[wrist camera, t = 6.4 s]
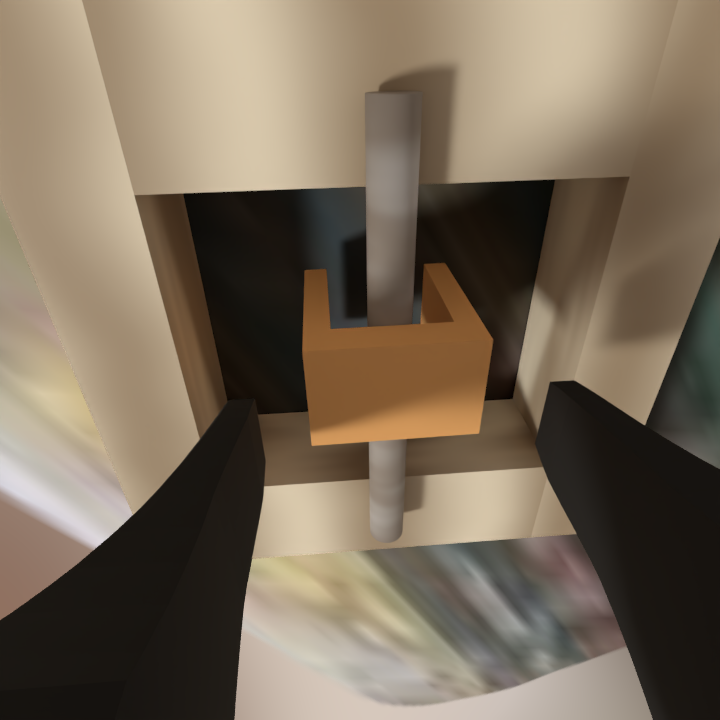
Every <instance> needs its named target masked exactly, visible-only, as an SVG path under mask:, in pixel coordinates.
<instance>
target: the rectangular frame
mask: <svg viewBox="0 0 720 720" xmlns="http://www.w3.org/2000/svg"><path fill="white" fill-rule="evenodd" d="M552 179H555V183H554V188H553V193H552V198H551V203H550V208H549V214H548V219H547V224H546V229H545V234H544V239H543V244H542V250H541V255H540V260H539V265H538V270H537V275H536V281H535V286H534V291H533V296H532V301H531V306H530V311H529V317H528V322H527V327H526V332H525V337H524V342H523V348H522V353H521V358H520V363H519V368H518V373H517V379H516V384H515V389H514V394H513V399H505V400H489V401H484V404H483V411H482V417H481V424H480V431H479V434H466V435H453V436H439V437H426V438H412V439H399V440H385V441H371V442H358V443H344V444H331V445H317V446H312V443H311V433H310V423H309V413H308V412H294V413H278V414H262V415H258V419H259V425H260V430H261V436H262V442H263V448H264V453H265V459H266V466H265V482H264V496H263V503H262V509H261V514H260V519H259V525H258V530H257V535H256V541H255V546H254V551H253V556H252V559H256V558H269V557H282V556H295V555H308V554H321V553H334V552H347V551H360V550H373V549H386V548H399V547H412V546H425V545H438V544H451V543H464V542H477V541H490V540H503V539H516V538H529V537H542V536H555V535H568V534H576V532H575V530H574V528H573V526H572V524H571V523H570V521H569V519H568V517H567V515H566V513H565V511H564V510H563V508H562V506H561V504H560V502H559V500H558V498H557V496H556V494H555V492H554V491H553V489H552V487H551V485H550V483H549V481H548V478H547V476H546V473H545V471H544V468H543V466H542V463H541V460H540V457H539V454H538V451H537V448H536V446H535V441H536V437H537V433H538V429H539V425H540V421H541V416H542V412H543V408H544V404H545V400H546V396H547V392H548V388H549V383H550V382H554V381H571V380H574V381H576V382H578V383H580V384H582V385H583V386H585V387H586V388H588V389H590V390H591V391H593V392H594V393H596V394H597V395H599V396H601V397H602V398H604V399H605V400H607V401H608V402H610V403H611V404H613V405H614V406H616V407H617V408H619V409H620V410H622V411H623V412H625V413H626V414H628V415H629V416H631V417H632V418H634V419H636V420H637V421H639V422H640V423H642V424H643V425H645V424H646V421H647V419H648V416H649V414H650V411H651V409H652V406H653V404H654V401H655V399H656V396H657V394H658V391H659V389H660V386H661V384H662V381H663V379H664V376H665V374H666V371H667V369H668V366H669V364H670V361H671V359H672V356H673V354H674V351H675V349H676V346H677V344H678V341H679V338H680V336H681V333H682V331H683V328H684V326H685V323H686V321H687V318H688V316H689V313H690V311H691V308H692V306H693V303H694V301H695V298H696V296H697V293H698V291H699V288H700V286H701V283H702V281H703V278H704V276H705V273H706V271H707V268H708V266H709V263H710V261H711V258H712V256H713V253H714V251H715V248H716V246H717V243H718V241H719V238H720V0H0V197H1V200H2V202H3V205H4V207H5V209H6V212H7V214H8V217H9V219H10V221H11V224H12V226H13V229H14V231H15V233H16V236H17V238H18V241H19V243H20V245H21V248H22V250H23V253H24V255H25V257H26V260H27V262H28V264H29V267H30V269H31V272H32V274H33V276H34V279H35V281H36V284H37V286H38V288H39V291H40V293H41V296H42V298H43V300H44V303H45V305H46V308H47V310H48V312H49V315H50V317H51V320H52V322H53V324H54V327H55V329H56V332H57V334H58V336H59V339H60V341H61V344H62V346H63V348H64V351H65V353H66V356H67V358H68V360H69V363H70V365H71V368H72V370H73V372H74V375H75V377H76V380H77V382H78V384H79V387H80V389H81V392H82V394H83V396H84V399H85V401H86V404H87V406H88V408H89V411H90V413H91V416H92V418H93V420H94V423H95V425H96V427H97V430H98V432H99V435H100V437H101V439H102V442H103V444H104V447H105V449H106V451H107V454H108V456H109V459H110V461H111V463H112V466H113V468H114V471H115V473H116V475H117V478H118V480H119V483H120V485H121V487H122V490H123V492H124V495H125V497H126V499H127V502H128V504H129V507H130V509H131V511H132V514H133V515H134V514H135V513H136V512H137V511H138V510H139V509H140V508H141V507H142V506H143V505H144V504H145V503H146V502H147V500H148V499H149V498H150V497H151V496H152V495H153V494H154V493H155V492H156V491H157V490H158V489H159V488H160V486H161V485H162V484H163V483H164V482H165V481H166V480H167V478H168V477H169V476H170V475H171V474H172V473H173V472H174V471H175V469H176V468H177V467H178V466H179V465H180V464H181V462H182V461H183V460H184V459H185V457H186V456H187V455H188V454H189V452H190V451H191V450H192V448H193V447H194V446H195V445H196V443H197V442H198V441H199V440H200V438H201V437H202V436H203V434H204V433H205V432H206V430H207V429H208V428H209V426H210V425H211V423H212V422H213V421H214V419H215V418H216V416H217V415H218V414H219V412H220V411H221V409H222V408H223V407H224V405H225V404H226V403H227V402H228V401H227V397H226V392H225V387H224V383H223V378H222V373H221V369H220V364H219V359H218V354H217V350H216V345H215V340H214V336H213V331H212V326H211V322H210V317H209V312H208V308H207V303H206V298H205V294H204V289H203V284H202V280H201V275H200V270H199V266H198V261H197V256H196V252H195V247H194V242H193V238H192V233H191V228H190V223H189V219H188V214H187V209H186V205H185V200H184V195H183V193H206V192H233V191H259V190H286V189H313V188H339V187H366V238H367V322H368V327H376V326H394V325H409V324H412V315H413V293H414V272H415V250H416V228H417V206H418V185H419V184H446V183H472V182H499V181H525V180H552Z"/></svg>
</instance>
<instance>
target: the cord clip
mask: <svg viewBox="0 0 720 720" xmlns="http://www.w3.org/2000/svg"><path fill="white" fill-rule="evenodd" d="M492 345H493V338H492V337H491V335H490V334H489V332H488V330H487V329H486V327H485V326H484V324H483V323H482V321H481V319H480V318H479V316H478V315H477V313H476V311H475V310H474V308H473V307H472V305H471V303H470V302H469V300H468V299H467V297H466V295H465V294H464V292H463V291H462V289H461V288H460V286H459V284H458V283H457V281H456V280H455V278H454V276H453V275H452V273H451V272H450V270H449V268H448V267H447V265H446V264H445V263H433V264H424V272H423V290H422V308H421V324H409V325H394V326H376V327H359V328H342V329H330V314H329V300H328V286H327V271H326V269H317V270H305V275H304V310H303V345H302V354H303V364H304V373H305V383H306V393H307V403H308V413H309V423H310V433H311V443H312V446H317V445H331V444H344V443H358V442H371V441H385V440H399V439H412V438H426V437H439V436H453V435H466V434H479V431H480V424H481V417H482V411H483V404H484V398H485V391H486V385H487V378H488V372H489V365H490V358H491V352H492Z"/></svg>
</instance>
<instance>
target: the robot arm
mask: <svg viewBox="0 0 720 720" xmlns="http://www.w3.org/2000/svg"><path fill="white" fill-rule="evenodd" d="M535 446H536V448H537V451H538V454H539V457H540V460H541V463H542V466H543V468H544V471H545V473H546V476H547V478H548V481H549V483H550V485H551V487H552V489H553V491H554V492H555V494H556V496H557V498H558V500H559V502H560V504H561V506H562V508H563V510H564V511H565V513H566V515H567V517H568V519H569V521H570V523H571V524H572V526H573V528H574V530H575V532H576V534H577V536H578V537H579V539H580V541H581V543H582V545H583V547H584V549H585V550H586V552H587V554H588V556H589V558H590V560H591V562H592V564H593V566H594V568H595V570H596V572H597V574H598V576H599V578H600V580H601V583H602V585H603V588H604V590H605V593H606V595H607V597H608V600H609V602H610V605H611V607H612V609H613V612H614V614H615V617H616V619H617V622H618V624H619V627H620V630H621V632H622V635H623V637H624V640H625V643H626V645H627V648H628V650H629V653H630V655H631V658H632V661H633V664H634V666H635V669H636V672H637V675H638V678H639V681H640V684H641V686H642V689H643V692H644V695H645V697H646V701H647V703H648V706H649V709H650V712H651V715H652V718H653V720H720V469H718V468H716V467H714V466H713V465H711V464H709V463H707V462H705V461H703V460H702V459H700V458H698V457H696V456H695V455H693V454H691V453H689V452H688V451H686V450H684V449H683V448H681V447H679V446H677V445H676V444H674V443H672V442H671V441H669V440H667V439H666V438H664V437H662V436H661V435H659V434H658V433H656V432H654V431H653V430H651V429H650V428H648V427H646V426H645V425H643V424H642V423H640V422H639V421H637V420H636V419H634V418H632V417H631V416H629V415H628V414H626V413H625V412H623V411H622V410H620V409H619V408H617V407H616V406H614V405H613V404H611V403H610V402H608V401H607V400H605V399H604V398H602V397H601V396H599V395H597V394H596V393H594V392H593V391H591V390H590V389H588V388H586V387H585V386H583V385H582V384H580V383H578V382H576V381H574V380H571V381H554V382H550V383H549V388H548V392H547V396H546V400H545V404H544V408H543V412H542V416H541V421H540V425H539V429H538V433H537V437H536V441H535ZM265 466H266V459H265V453H264V448H263V442H262V436H261V430H260V425H259V419H258V413H257V407H256V402H255V399H237V400H229V401H228V402H227V403H226V404H225V405H224V407H223V408H222V409H221V411H220V412H219V414H218V415H217V416H216V418H215V419H214V421H213V422H212V423H211V425H210V426H209V428H208V429H207V430H206V432H205V433H204V434H203V436H202V437H201V438H200V440H199V441H198V442H197V443H196V445H195V446H194V447H193V448H192V450H191V451H190V452H189V454H188V455H187V456H186V457H185V459H184V460H183V461H182V462H181V464H180V465H179V466H178V467H177V468H176V469H175V471H174V472H173V473H172V474H171V475H170V476H169V477H168V478H167V480H166V481H165V482H164V483H163V484H162V485H161V486H160V488H159V489H158V490H157V491H156V492H155V493H154V494H153V495H152V496H151V497H150V498H149V499H148V500H147V502H146V503H145V504H144V505H143V506H142V507H141V508H140V509H139V510H138V511H137V512H136V513H135V514H134V515H133V516H131V517H130V518H129V519H128V520H127V521H126V522H125V523H124V524H123V525H122V526H121V527H120V528H119V529H118V530H117V531H116V532H114V533H113V534H112V535H111V536H110V537H109V538H108V539H106V540H105V541H104V542H103V543H102V544H101V545H99V546H98V547H97V548H96V549H95V550H93V551H92V552H91V553H90V554H89V555H88V556H86V557H85V558H84V559H83V560H82V561H81V562H79V563H78V564H77V565H76V566H74V567H73V568H72V569H71V570H69V571H68V572H67V573H65V574H64V575H63V576H61V577H60V578H59V579H58V580H56V581H55V582H54V583H52V584H51V585H50V586H48V587H47V588H45V589H44V590H43V591H41V592H40V593H39V594H37V595H36V596H34V597H33V598H32V599H30V600H29V601H28V602H26V603H25V604H24V605H22V606H20V607H19V608H18V609H16V610H15V611H13V612H12V613H10V614H9V615H7V616H6V617H4V618H3V619H1V620H0V720H234V716H235V702H236V689H237V676H238V664H239V652H240V640H241V630H242V620H243V609H244V601H245V595H246V588H247V582H248V577H249V572H250V567H251V561H252V556H253V551H254V546H255V541H256V535H257V530H258V525H259V519H260V514H261V509H262V503H263V496H264V482H265Z"/></svg>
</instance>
